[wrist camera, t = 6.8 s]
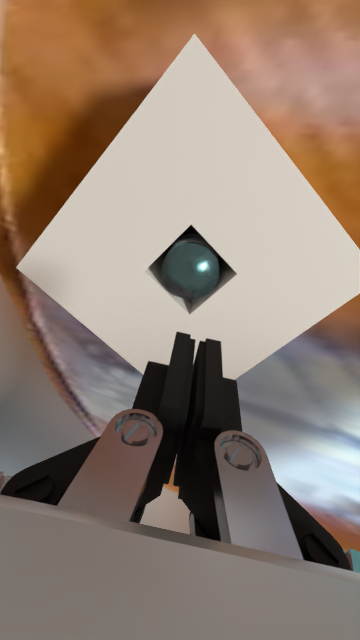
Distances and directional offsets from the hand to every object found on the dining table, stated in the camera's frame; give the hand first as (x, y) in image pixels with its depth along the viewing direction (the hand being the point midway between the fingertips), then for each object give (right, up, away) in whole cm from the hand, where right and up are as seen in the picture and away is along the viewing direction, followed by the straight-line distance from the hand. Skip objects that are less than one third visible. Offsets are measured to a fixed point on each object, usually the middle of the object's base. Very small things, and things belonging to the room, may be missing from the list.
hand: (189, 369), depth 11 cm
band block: (+1, +9, +17) cm, 19 cm away
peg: (+1, +9, +17) cm, 19 cm away
